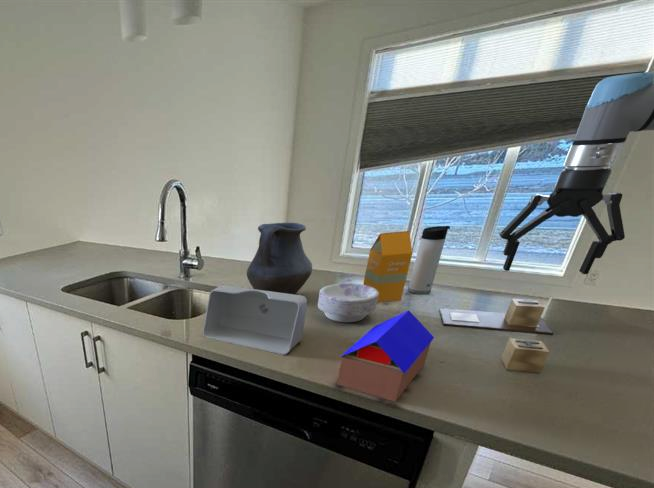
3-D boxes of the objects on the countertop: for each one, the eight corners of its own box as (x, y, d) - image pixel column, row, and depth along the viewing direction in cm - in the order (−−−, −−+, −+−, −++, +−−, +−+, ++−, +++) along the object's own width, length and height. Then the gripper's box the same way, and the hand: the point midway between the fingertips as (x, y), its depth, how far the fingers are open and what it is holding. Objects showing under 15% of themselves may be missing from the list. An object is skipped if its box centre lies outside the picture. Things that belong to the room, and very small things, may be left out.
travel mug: (432, 294, 127) (452, 228, 116) (408, 293, 129) (425, 228, 119) (430, 288, 131) (448, 224, 121) (406, 287, 134) (422, 224, 124)
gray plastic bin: (311, 333, 110) (317, 288, 103) (288, 355, 99) (293, 307, 93) (229, 318, 124) (230, 278, 118) (201, 336, 114) (201, 293, 108)
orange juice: (401, 300, 125) (417, 233, 115) (372, 302, 125) (386, 235, 115) (388, 292, 132) (402, 228, 121) (360, 294, 132) (373, 231, 122)
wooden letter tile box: (531, 318, 104) (539, 299, 102) (536, 326, 100) (545, 306, 98) (504, 316, 107) (511, 297, 104) (509, 324, 103) (516, 304, 100)
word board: (538, 317, 106) (540, 315, 106) (552, 335, 97) (553, 332, 97) (439, 310, 116) (439, 307, 115) (443, 325, 107) (443, 323, 106)
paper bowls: (309, 321, 116) (312, 295, 112) (324, 305, 127) (328, 280, 123) (366, 330, 108) (372, 302, 104) (378, 312, 118) (384, 286, 114)
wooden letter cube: (532, 361, 88) (542, 340, 85) (539, 373, 83) (549, 351, 81) (500, 358, 90) (509, 337, 87) (506, 369, 86) (515, 347, 83)
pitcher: (318, 294, 136) (329, 215, 123) (291, 314, 122) (301, 228, 110) (261, 286, 148) (266, 214, 136) (231, 304, 134) (234, 225, 122)
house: (334, 384, 86) (343, 334, 80) (369, 351, 98) (379, 305, 92) (396, 403, 79) (411, 349, 73) (426, 364, 90) (441, 315, 84)
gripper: (512, 172, 85) (478, 272, 96) (686, 165, 74) (625, 278, 85) (506, 169, 91) (474, 264, 102) (666, 162, 80) (612, 269, 90)
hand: (543, 271), depth 93 cm, fingers open, 13 cm apart
